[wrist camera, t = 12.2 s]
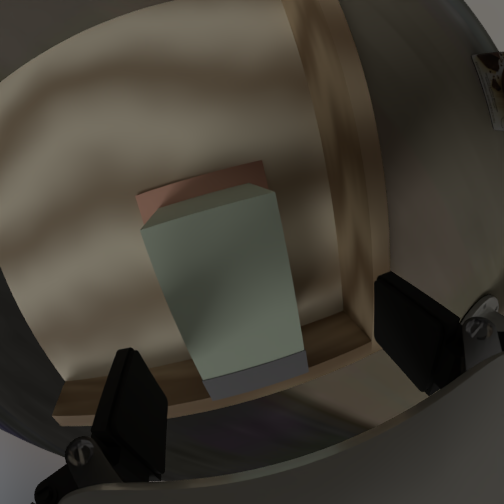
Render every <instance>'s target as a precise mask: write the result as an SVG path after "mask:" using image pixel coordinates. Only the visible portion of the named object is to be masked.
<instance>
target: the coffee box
mask: <svg viewBox="0 0 504 504" xmlns="http://www.w3.org/2000/svg"><path fill="white" fill-rule="evenodd" d="M472 59H473V62H474V64H475V67H476V70H477V72H478V75H479V78H480V81H481V84H482V87H483V90H484V94H485V97H486V100H487V104H488V108H489V111H490V115H491V120H492V124H493V128H494V130H501V131H504V52H494V53H485V54H475V55H472Z"/></svg>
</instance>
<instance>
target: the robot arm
mask: <svg viewBox="0 0 504 504" xmlns="http://www.w3.org/2000/svg"><path fill="white" fill-rule="evenodd" d="M498 309H499V304H498V300H497V298H496V297H494V296H492V295H487V296H484V297H483V298H481V299H480V300H479V301H478V302H477V303H476V304H475V305H474V306H473V307H472V308H471V310H470V311H469V312H468V314H467V315H466V316H465V318H464V319H463V321H462V322H461V324H460V323H459V321H460V318H459V317H458V316H456V315H455V314H454V313H452V312H451V311H449V310H448V309H447V308H445V307H444V306H442V305H441V304H439V303H438V302H437V301H435V300H434V299H432V298H431V297H429V296H428V295H426V294H425V293H423V292H422V291H420V290H419V289H418V288H416V287H415V286H413V285H412V284H410V283H408V282H407V281H405V280H404V279H402V278H401V277H399V276H398V275H396V274H395V273H393V272H391V271H390V272H387V273H384V274H382V275H379V276H378V277H377V280H376V281H375V282H374V338H375V340H376V342H377V343H378V344H379V345H380V346H381V347H382V348H383V350H384V351H385V352H386V353H387V354H388V355H389V356H390V357H391V358H392V360H393V361H394V362H395V363H396V364H397V365H398V366H399V367H400V369H401V370H402V371H403V372H404V373H405V374H406V375H407V376H408V378H409V379H410V380H411V381H412V382H413V383H414V384H415V386H416V387H417V388H418V389H419V390H420V391H422V392H424V391H425V392H426V394H427V395H428V396H430V395H431V396H430V397H428V398H426V399H425V400H423V401H422V402H420V403H418V404H417V405H415V406H413V407H412V408H410V409H408V410H407V411H405V412H403V413H401V414H399V415H398V416H396V417H394V418H392V419H390V420H388V421H386V422H384V423H383V424H381V425H379V426H377V427H374V428H372V429H370V430H368V431H366V432H364V433H362V434H360V435H357V436H355V437H353V438H350V439H348V440H346V441H343V442H341V443H338V444H336V445H333V446H331V447H328V448H325V449H323V450H320V451H317V452H314V453H311V454H308V455H305V456H302V457H299V458H296V459H293V460H289V461H286V462H282V463H279V464H275V465H271V466H267V467H263V468H259V469H254V470H250V471H245V472H240V473H234V474H229V475H223V476H216V477H209V478H201V479H191V480H180V481H165V482H149V481H161V474H163V473H164V472H165V450H166V429H167V413H168V400H167V397H166V395H165V394H164V392H163V391H162V389H161V388H160V386H159V385H158V383H157V381H156V380H155V378H154V377H153V375H152V373H151V372H150V370H149V368H148V367H147V365H146V363H145V361H144V360H143V358H142V356H141V354H140V353H139V351H138V350H134V349H133V348H131V347H130V348H124V349H119V350H117V352H116V355H115V357H114V360H113V363H112V366H111V368H110V371H109V374H108V377H107V380H106V383H105V386H104V389H103V392H102V395H101V398H100V401H99V404H98V407H97V411H96V414H95V417H94V421H93V424H92V428H91V432H92V435H91V438H90V437H88V436H82V437H78V438H76V439H74V440H73V441H71V442H70V443H69V445H68V446H67V448H66V451H65V460H66V463H67V464H66V465H65V466H63V467H62V468H60V469H59V470H58V471H56V472H55V473H53V474H52V475H50V476H49V477H48V478H47V479H45V480H43V481H42V482H41V483H40V484H38V486H37V487H36V489H35V494H34V496H35V501H36V504H504V316H503V315H501V314H500V313H498ZM439 389H440V390H439ZM438 390H439V391H438ZM436 391H437V392H436ZM435 392H436V393H435ZM433 393H434V394H433ZM432 394H433V395H432ZM31 504H35V503H33V502H32V503H31Z"/></svg>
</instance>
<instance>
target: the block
mask: <svg viewBox="0 0 504 504" xmlns="http://www.w3.org/2000/svg"><path fill="white" fill-rule="evenodd" d="M140 232H141V235H142V238H143V241H144V244H145V247H146V250H147V252H148V255H149V258H150V261H151V263H152V266H153V269H154V271H155V274H156V277H157V279H158V282H159V284H160V287H161V289H162V292H163V294H164V297H165V299H166V302H167V304H168V306H169V309H170V311H171V314H172V316H173V318H174V320H175V323H176V325H177V327H178V329H179V332H180V334H181V336H182V338H183V340H184V343H185V345H186V347H187V349H188V351H189V353H190V355H191V357H192V359H193V361H194V363H195V365H196V367H197V369H198V371H199V373H200V375H201V377H202V382H203V384H204V386H205V388H206V390H207V391H208V393H209V395H210V397H211V399H212V401H215V400H219V399H223V398H227V397H231V396H235V395H239V394H242V393H246V392H250V391H253V390H256V389H260V388H263V387H266V386H270V385H273V384H276V383H279V382H282V381H285V380H288V379H291V378H294V377H296V376H299V375H302V374H305V373H308V372H309V369H308V362H307V356H306V350H305V348H304V345H303V338H302V332H301V326H300V320H299V314H298V308H297V303H296V297H295V291H294V286H293V280H292V275H291V269H290V264H289V259H288V253H287V248H286V243H285V238H284V233H283V228H282V223H281V218H280V213H279V209H278V204H277V199H276V194H275V192H274V191H271V190H268V189H265V188H263V187H260V186H257V185H254V184H251V183H246V184H242V185H238V186H234V187H230V188H226V189H223V190H219V191H215V192H212V193H208V194H204V195H201V196H197V197H194V198H191V199H187V200H184V201H180V202H177V203H174V204H170V205H167V206H164V207H161V208H158V209H157V210H156V212H155V213H154V214H153V215H152V216H151V218H150V219H149V220H148V221H147V222H146V224H145V225H144V226H143V227H142V228H141V230H140Z"/></svg>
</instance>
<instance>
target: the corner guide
mask: <svg viewBox="0 0 504 504" xmlns="http://www.w3.org/2000/svg"><path fill="white" fill-rule="evenodd" d="M246 183H251V184H254V185H257V186H260V187H263V188H265V189H268V190H271V191H274V192H275V194H276V199H277V204H278V209H279V213H280V218H281V223H282V228H283V233H284V238H285V243H286V248H287V253H288V259H289V264H290V269H291V275H292V280H293V286H294V291H295V297H296V303H297V308H298V314H299V320H300V326H301V332H302V338H303V345H304V348H305V350H306V356H307V362H308V369H309V372H308V373H305V374H302V375H299V376H296V377H294V378H291V379H288V380H285V381H282V382H279V383H276V384H273V385H270V386H266V387H263V388H260V389H256V390H253V391H250V392H246V393H242V394H239V395H235V396H231V397H227V398H223V399H219V400H215V401H212V399H211V397H210V395H209V393H208V391H207V390H206V388H205V386H204V384H203V382H202V377H201V375H200V373H199V371H198V369H197V367H196V365H195V363H194V361H193V359H192V357H191V355H190V353H189V351H188V349H187V347H186V345H185V343H184V340H183V338H182V336H181V334H180V332H179V329H178V327H177V325H176V323H175V320H174V318H173V316H172V314H171V311H170V309H169V306H168V304H167V302H166V299H165V297H164V294H163V292H162V289H161V287H160V284H159V282H158V279H157V277H156V274H155V271H154V269H153V266H152V263H151V261H150V258H149V255H148V252H147V250H146V247H145V244H144V241H143V238H142V235H141V232H140V230H141V228H142V227H143V226H144V225H145V224H146V222H147V221H148V220H149V219H150V218H151V216H152V215H153V214H154V213H155V212H156V210H157V209H158V208H161V207H164V206H167V205H170V204H174V203H177V202H180V201H184V200H187V199H191V198H194V197H197V196H201V195H204V194H208V193H212V192H215V191H219V190H223V189H226V188H230V187H234V186H238V185H242V184H246ZM0 266H1V269H2V271H3V274H4V276H5V279H6V281H7V283H8V285H9V288H10V290H11V292H12V294H13V296H14V298H15V300H16V302H17V304H18V306H19V308H20V310H21V312H22V314H23V316H24V318H25V320H26V321H27V323H28V325H29V327H30V329H31V330H32V332H33V334H34V335H35V337H36V339H37V340H38V342H39V344H40V345H41V347H42V348H43V350H44V351H45V353H46V354H47V356H48V358H49V359H50V360H51V362H52V363H53V365H54V366H55V368H56V369H57V370H58V372H59V373H60V375H61V376H62V377H63V379H64V380H65V384H64V386H63V389H62V391H61V394H60V396H59V399H58V401H57V404H56V406H55V409H54V412H53V414H52V417H53V418H54V419H55V420H56V421H57V422H58V423H59V424H60V425H61V426H92V424H93V421H94V417H95V414H96V411H97V407H98V404H99V401H100V398H101V395H102V392H103V389H104V386H105V383H106V380H107V377H108V374H109V371H110V368H111V366H112V363H113V360H114V357H115V355H116V352H117V350H119V349H124V348H130V347H131V348H133V349H134V350H138V351H139V353H140V354H141V356H142V358H143V360H144V361H145V363H146V365H147V367H148V368H149V370H150V372H151V373H152V375H153V377H154V378H155V380H156V381H157V383H158V385H159V386H160V388H161V389H162V391H163V392H164V394H165V395H166V397H167V400H168V413H167V418H173V417H179V416H185V415H190V414H195V413H200V412H205V411H210V410H214V409H218V408H223V407H227V406H231V405H235V404H238V403H242V402H246V401H249V400H253V399H256V398H260V397H263V396H266V395H270V394H273V393H276V392H279V391H282V390H285V389H288V388H291V387H294V386H297V385H300V384H302V383H305V382H308V381H310V380H313V379H316V378H318V377H321V376H323V375H326V374H328V373H331V372H333V371H336V370H338V369H340V368H343V367H345V366H347V365H350V364H352V363H354V362H356V361H358V360H361V359H363V358H365V357H367V356H369V355H371V354H373V353H375V352H377V351H379V350H381V349H383V348H382V347H381V346H380V345H379V344H378V343H377V342H376V340H375V338H374V282H375V281H376V280H377V277H378V276H379V275H382V274H384V273H387V272H390V239H389V220H388V206H387V195H386V185H385V177H384V169H383V162H382V155H381V149H380V143H379V137H378V131H377V126H376V121H375V116H374V112H373V107H372V103H371V98H370V94H369V90H368V86H367V83H366V79H365V75H364V72H363V68H362V65H361V61H360V58H359V55H358V52H357V49H356V46H355V43H354V40H353V37H352V34H351V31H350V29H349V26H348V23H347V21H346V18H345V16H344V13H343V11H342V8H341V6H340V4H339V1H338V0H174V1H170V2H166V3H162V4H158V5H154V6H151V7H147V8H144V9H140V10H137V11H134V12H131V13H128V14H125V15H122V16H119V17H117V18H114V19H111V20H109V21H106V22H104V23H101V24H99V25H97V26H94V27H92V28H90V29H87V30H85V31H83V32H81V33H79V34H77V35H75V36H73V37H71V38H69V39H67V40H65V41H63V42H61V43H59V44H58V45H56V46H54V47H52V48H50V49H49V50H47V51H45V52H44V53H42V54H40V55H39V56H37V57H36V58H34V59H32V60H31V61H29V62H28V63H26V64H25V65H23V66H22V67H20V68H19V69H18V70H16V71H15V72H13V73H12V74H11V75H9V76H8V77H7V78H5V79H4V80H3V81H1V82H0Z"/></svg>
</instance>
